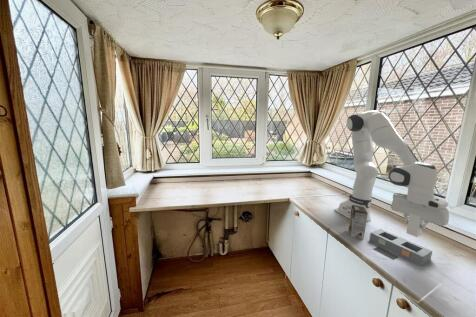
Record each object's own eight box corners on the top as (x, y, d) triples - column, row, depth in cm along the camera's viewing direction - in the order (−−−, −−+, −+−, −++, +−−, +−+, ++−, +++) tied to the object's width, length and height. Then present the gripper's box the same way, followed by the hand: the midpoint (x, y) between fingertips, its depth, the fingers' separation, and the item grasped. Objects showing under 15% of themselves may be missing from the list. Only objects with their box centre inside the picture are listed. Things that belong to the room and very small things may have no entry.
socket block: (368, 241, 107) (370, 232, 106) (379, 236, 112) (380, 228, 111) (420, 267, 88) (422, 257, 87) (430, 260, 93) (432, 251, 92)
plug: (406, 233, 95) (409, 212, 93) (410, 231, 96) (413, 210, 95) (416, 237, 91) (420, 215, 90) (421, 235, 93) (424, 213, 91)
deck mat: (372, 250, 99) (372, 249, 99) (378, 247, 102) (378, 246, 102) (393, 261, 92) (393, 259, 91) (398, 258, 94) (398, 257, 94)
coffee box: (347, 230, 118) (351, 204, 116) (360, 232, 116) (364, 206, 114) (350, 237, 110) (354, 210, 107) (363, 240, 108) (368, 212, 105)
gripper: (390, 192, 99) (386, 218, 101) (447, 206, 81) (441, 238, 83) (397, 190, 102) (393, 215, 104) (453, 204, 84) (447, 234, 86)
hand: (414, 226), depth 93 cm, fingers closed on plug, 4 cm apart
